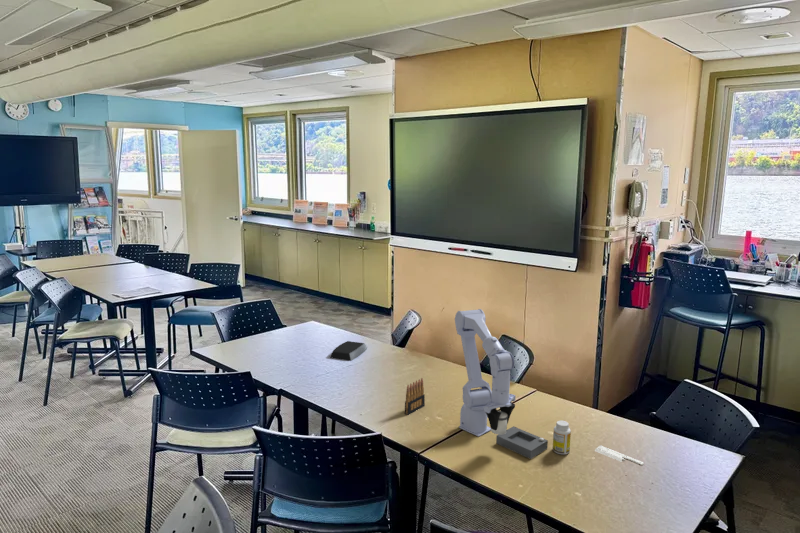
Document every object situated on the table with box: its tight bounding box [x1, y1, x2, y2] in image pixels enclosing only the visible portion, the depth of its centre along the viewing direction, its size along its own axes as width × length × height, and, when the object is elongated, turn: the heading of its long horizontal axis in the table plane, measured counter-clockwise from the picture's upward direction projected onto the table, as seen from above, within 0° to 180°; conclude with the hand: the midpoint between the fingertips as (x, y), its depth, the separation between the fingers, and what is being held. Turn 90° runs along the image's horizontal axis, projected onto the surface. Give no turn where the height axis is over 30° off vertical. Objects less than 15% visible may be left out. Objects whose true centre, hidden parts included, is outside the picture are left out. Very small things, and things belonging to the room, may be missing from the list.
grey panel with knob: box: [495, 426, 549, 460], centre depth 188 cm, size 14×10×4 cm
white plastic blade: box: [594, 445, 645, 466], centre depth 181 cm, size 5×15×1 cm, turn 42°
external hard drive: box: [329, 340, 368, 362], centre depth 279 cm, size 13×19×4 cm
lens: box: [490, 410, 508, 435], centre depth 183 cm, size 5×5×6 cm
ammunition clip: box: [404, 377, 426, 416], centre depth 214 cm, size 11×2×12 cm, turn 141°
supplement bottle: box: [552, 420, 572, 455], centre depth 184 cm, size 6×6×10 cm
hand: (499, 426), depth 183 cm, fingers closed on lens, 5 cm apart
